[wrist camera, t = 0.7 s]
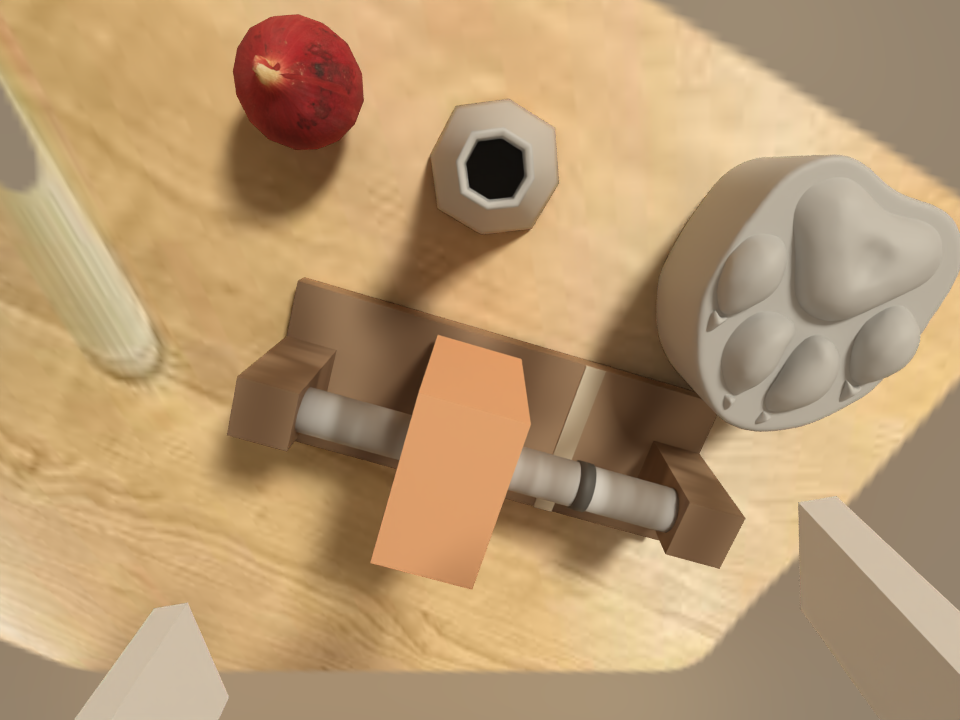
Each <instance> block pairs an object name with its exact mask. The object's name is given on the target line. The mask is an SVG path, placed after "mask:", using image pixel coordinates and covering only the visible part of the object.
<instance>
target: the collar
mask: <svg viewBox="0 0 960 720" xmlns="http://www.w3.org/2000/svg"><path fill="white" fill-rule="evenodd" d="M530 426H531V421H530V414H529V407H528V400H527V394H526V387H525V380H524V373H523V366H522V359H520V358H516V357H513V356H509V355H506V354H502V353H499V352H495V351H492V350H489V349H485V348H482V347H478V346H475V345H471V344H468V343H465V342H461V341H458V340H454V339H451V338H447V337H444V336H440V335H438V336H437V339H436V342H435V345H434V348H433V351H432V354H431V357H430V360H429V363H428V366H427V369H426V372H425V375H424V378H423V381H422V384H421V387H420V390H419V393H418V396H417V400H416V404H415V407H414V411H413V414H412V418H411V421H410V425H409V428H408V432H407V435H406V439H405V442H404V446H403V449H402V453H401V456H400V460H399V464H398V467H397V471H396V474H395V478H394V481H393V485H392V488H391V492H390V495H389V499H388V502H387V506H386V509H385V513H384V516H383V520H382V524H381V527H380V531H379V534H378V538H377V541H376V545H375V548H374V552H373V555H372V559H371V562H370V563H372V564H376V565H380V566H384V567H388V568H392V569H395V570H399V571H403V572H407V573H411V574H415V575H418V576H422V577H426V578H430V579H434V580H438V581H441V582H445V583H449V584H453V585H457V586H461V587H464V588H468V589H473V586H474V583H475V580H476V577H477V575H478V572H479V569H480V566H481V563H482V561H483V558H484V555H485V552H486V549H487V546H488V544H489V541H490V538H491V535H492V532H493V530H494V527H495V524H496V521H497V518H498V516H499V513H500V510H501V507H502V504H503V502H504V499H505V496H506V493H507V490H508V488H509V485H510V482H511V479H512V476H513V474H514V471H515V468H516V465H517V462H518V459H519V457H520V454H521V451H522V448H523V445H524V443H525V440H526V437H527V434H528V431H529V429H530Z"/></svg>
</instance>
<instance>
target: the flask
mask: <svg viewBox="0 0 960 720" xmlns="http://www.w3.org/2000/svg"><path fill="white" fill-rule="evenodd" d="M430 157H431V164H432V171H433V179H434V186H435V193H436V201H437V208H438V209H439V210H441V211H442V212H444V213H446V214H448V215H449V216H451V217H453V218H454V219H456V220H458V221H459V222H461V223H463V224H464V225H466V226H468V227H469V228H471V229H473V230H474V231H476V232H478V233H480V234H481V235H483V234H492V233H500V232H509V231H517V230H526V229H532V228H533V226H534V224H535V223H536V221H537V219H538V218H539V216H540V214H541V213H542V211H543V209H544V207H545V206H546V204H547V202H548V201H549V199H550V197H551V196H552V194H553V192H554V191H555V189H556V187H557V186H558V184H559V176H558V162H557V148H556V134H555V128H554V127H553V126H551V125H550V124H548V123H547V122H545V121H543V120H542V119H540V118H539V117H537V116H536V115H534V114H532V113H531V112H529V111H528V110H526V109H525V108H523V107H521V106H520V105H518V104H517V103H515V102H513V101H512V100H510V99H505V100H497V101H489V102H482V103H474V104H466V105H459V106H456V107H455V109H454V111H453V112H452V114H451V116H450V118H449V120H448V122H447V124H446V126H445V128H444V130H443V132H442V134H441V135H440V137H439V139H438V141H437V143H436V145H435V147H434V149H433V151H432V153H431V155H430Z"/></svg>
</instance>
